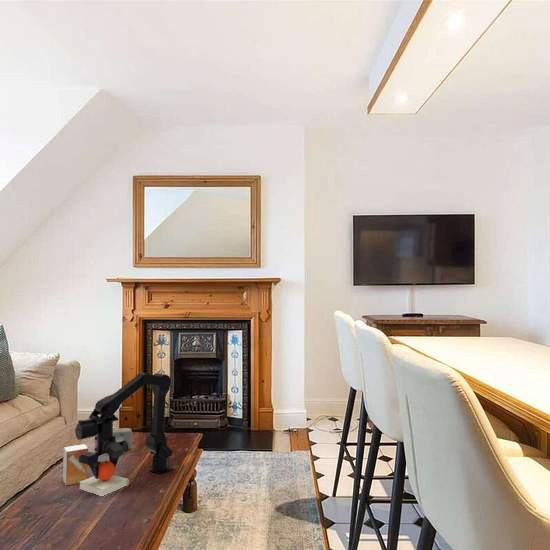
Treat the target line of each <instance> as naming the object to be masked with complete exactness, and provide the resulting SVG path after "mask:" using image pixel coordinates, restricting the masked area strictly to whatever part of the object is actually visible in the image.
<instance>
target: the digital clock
mask: <svg viewBox="0 0 550 550" xmlns="http://www.w3.org/2000/svg"><path fill="white" fill-rule="evenodd" d="M132 432H133V431H132V428H127V427H126V428H124V427H123V428H115V429H114V428H113V436H115V438H116V442H119V441H120V442H121V441H124V440H125V441H126V442H127V444H128V446H129V450H130V449H131V448H132V443H133V442H132V437H133V433H132ZM95 437H97V435H95V436H94V438H95ZM94 445H95V446H94V449H95V448H96V447H97V440H95V439H94ZM95 453H97V451H95ZM106 456H109V455H108V454H107V455H106Z"/></svg>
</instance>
